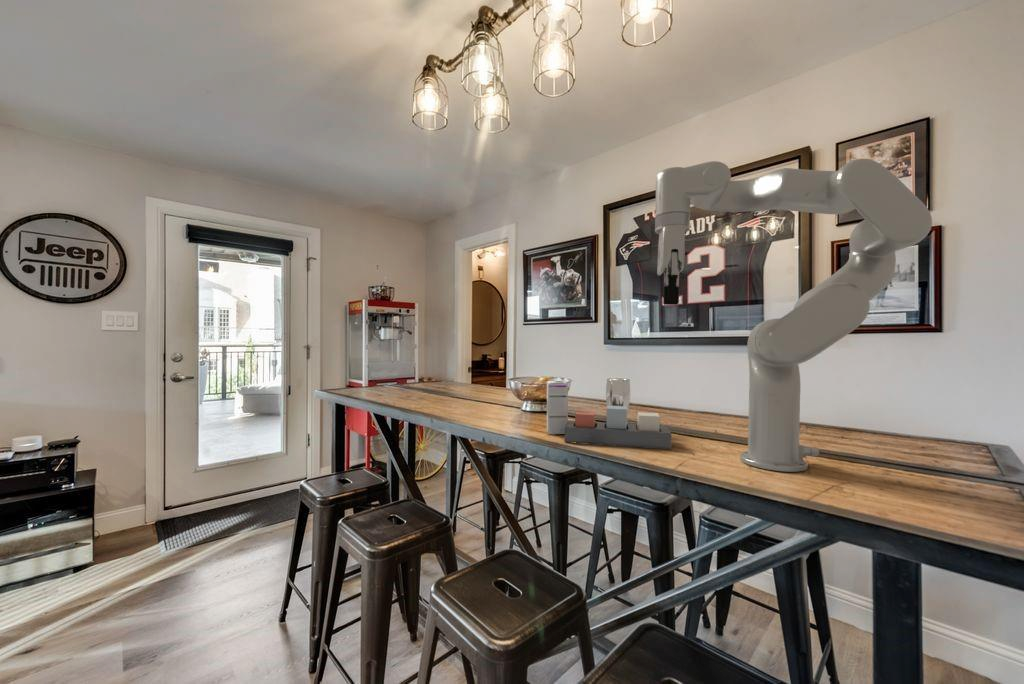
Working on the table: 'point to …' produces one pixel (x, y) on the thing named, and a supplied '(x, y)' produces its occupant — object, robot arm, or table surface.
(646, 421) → the key ivory
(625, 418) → the grey cube
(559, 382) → the syrup box
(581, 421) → the key red
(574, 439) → the grey slotted holder
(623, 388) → the beer glass
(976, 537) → the table surface
